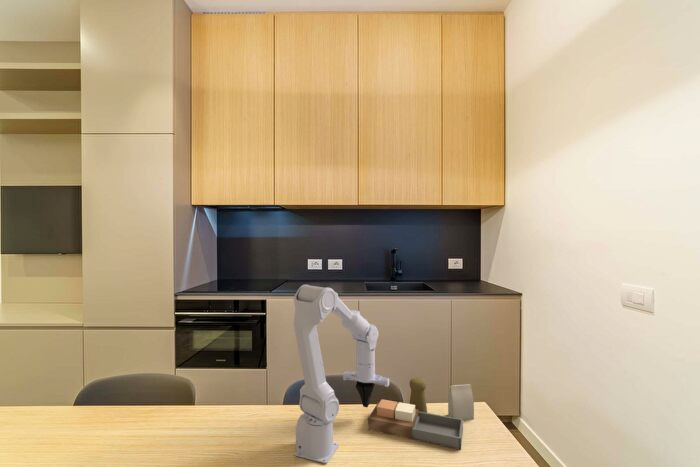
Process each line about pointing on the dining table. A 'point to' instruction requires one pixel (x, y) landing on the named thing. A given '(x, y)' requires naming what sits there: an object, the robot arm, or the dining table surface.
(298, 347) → the robot arm
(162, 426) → the dining table surface
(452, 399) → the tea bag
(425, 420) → the tray
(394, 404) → the terracotta tile
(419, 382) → the olive pepper mill
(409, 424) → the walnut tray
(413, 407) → the cream ceramic tile
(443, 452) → the dining table surface
